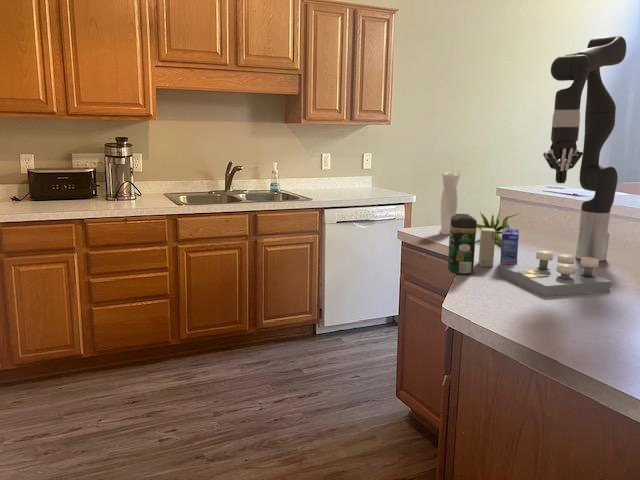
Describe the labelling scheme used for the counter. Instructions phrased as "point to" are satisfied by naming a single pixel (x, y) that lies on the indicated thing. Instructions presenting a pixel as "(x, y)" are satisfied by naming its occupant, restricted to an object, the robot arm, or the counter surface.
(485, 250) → the skincare box
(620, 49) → the robot arm
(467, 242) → the coffee jar
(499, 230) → the decorative plant
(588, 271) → the button
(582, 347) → the counter surface
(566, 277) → the button
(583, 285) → the board
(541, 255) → the button
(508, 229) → the ink cartridge box
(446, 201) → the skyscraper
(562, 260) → the button
